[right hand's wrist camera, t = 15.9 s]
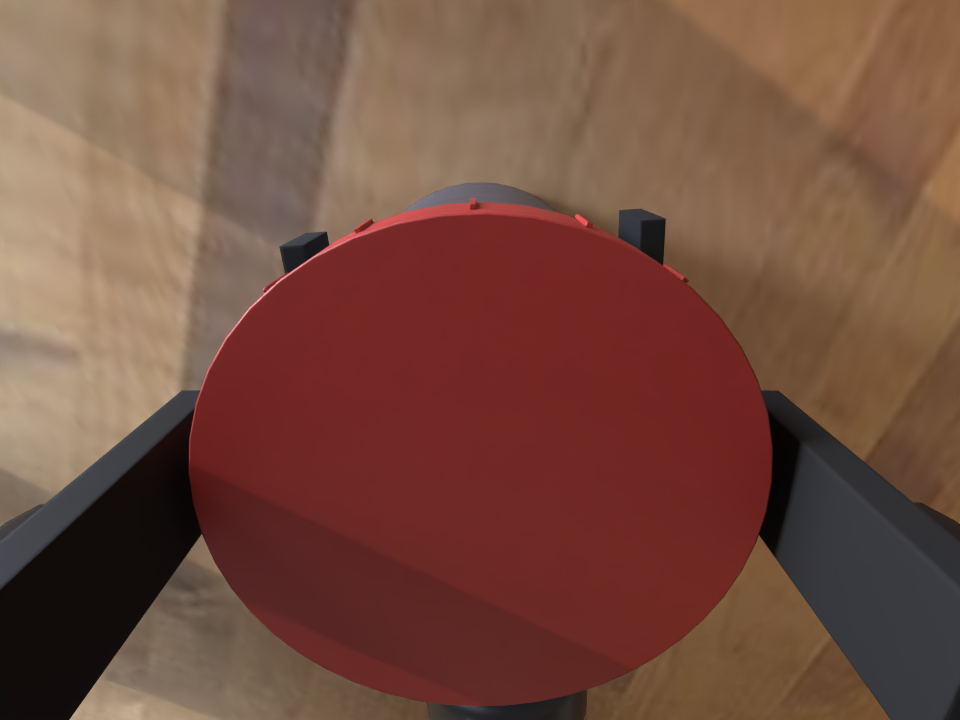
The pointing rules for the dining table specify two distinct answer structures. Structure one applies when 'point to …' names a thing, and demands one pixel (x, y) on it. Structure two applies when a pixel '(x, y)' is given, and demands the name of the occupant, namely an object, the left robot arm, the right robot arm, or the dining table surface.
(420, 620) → the lid
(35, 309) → the dining table surface
